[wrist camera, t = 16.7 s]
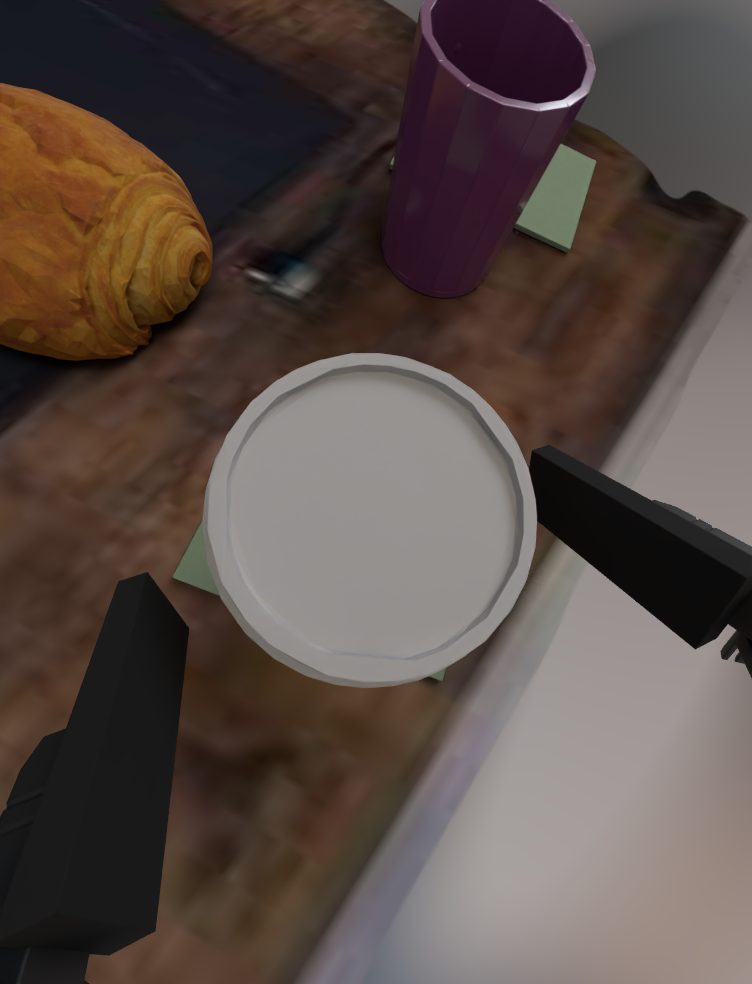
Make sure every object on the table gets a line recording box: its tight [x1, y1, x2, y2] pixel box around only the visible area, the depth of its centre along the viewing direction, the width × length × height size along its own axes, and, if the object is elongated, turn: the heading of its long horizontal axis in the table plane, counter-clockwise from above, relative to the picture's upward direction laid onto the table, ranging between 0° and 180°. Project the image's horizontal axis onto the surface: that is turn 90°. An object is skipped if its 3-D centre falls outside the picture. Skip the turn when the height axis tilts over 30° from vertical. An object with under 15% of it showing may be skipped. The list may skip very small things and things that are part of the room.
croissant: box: [0, 83, 213, 361], centre depth 19 cm, size 14×16×8 cm
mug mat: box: [389, 144, 596, 253], centre depth 29 cm, size 16×11×1 cm
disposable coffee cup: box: [202, 353, 537, 688], centre depth 15 cm, size 10×10×12 cm
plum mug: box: [381, 0, 596, 298], centre depth 22 cm, size 12×9×11 cm
